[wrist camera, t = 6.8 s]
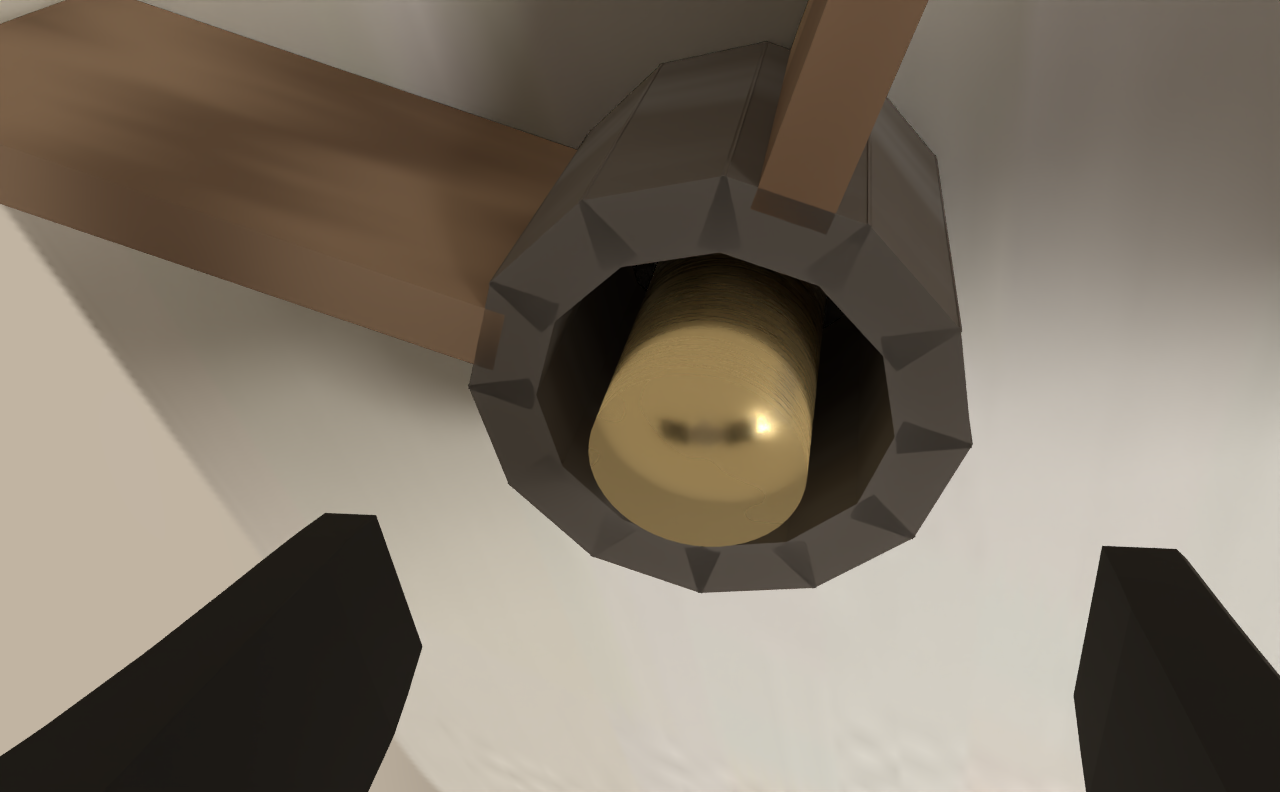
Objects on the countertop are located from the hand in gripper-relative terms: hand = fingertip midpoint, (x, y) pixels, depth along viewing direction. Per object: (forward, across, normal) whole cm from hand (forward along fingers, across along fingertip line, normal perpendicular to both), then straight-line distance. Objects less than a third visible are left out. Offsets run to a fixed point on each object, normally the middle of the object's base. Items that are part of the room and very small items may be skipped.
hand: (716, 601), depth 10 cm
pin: (+10, +1, +1) cm, 10 cm away
